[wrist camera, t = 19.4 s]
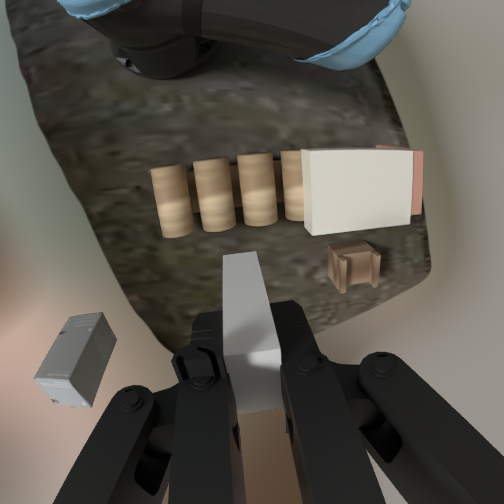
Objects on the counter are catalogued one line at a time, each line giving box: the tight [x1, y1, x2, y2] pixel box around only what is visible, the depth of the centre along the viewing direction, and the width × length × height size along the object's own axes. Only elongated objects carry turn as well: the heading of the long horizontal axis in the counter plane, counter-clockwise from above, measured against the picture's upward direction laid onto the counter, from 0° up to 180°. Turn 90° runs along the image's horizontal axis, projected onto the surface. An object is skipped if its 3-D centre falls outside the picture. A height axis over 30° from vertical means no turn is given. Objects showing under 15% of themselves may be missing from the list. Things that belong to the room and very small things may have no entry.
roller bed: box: [151, 149, 304, 238], centre depth 35 cm, size 8×30×7 cm, turn 96°
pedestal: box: [328, 240, 381, 293], centre depth 41 cm, size 5×6×6 cm
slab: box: [301, 148, 413, 236], centre depth 31 cm, size 9×13×3 cm
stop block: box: [376, 145, 423, 215], centre depth 35 cm, size 8×2×9 cm, turn 6°
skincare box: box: [34, 312, 117, 408], centre depth 38 cm, size 8×7×16 cm
